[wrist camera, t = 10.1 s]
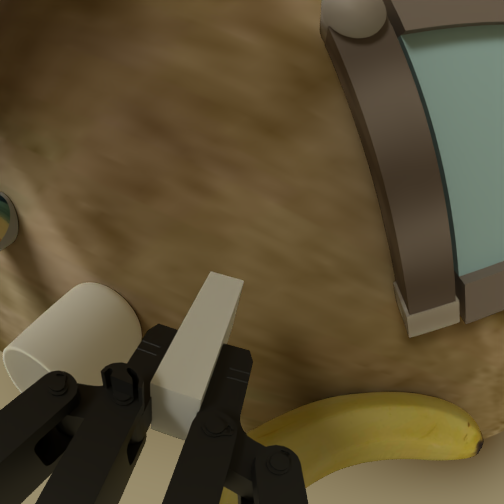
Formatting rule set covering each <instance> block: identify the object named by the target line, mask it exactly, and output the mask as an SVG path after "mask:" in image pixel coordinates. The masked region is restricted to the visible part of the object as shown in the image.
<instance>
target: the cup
mask: <svg viewBox="0 0 504 504" xmlns="http://www.w3.org/2000/svg"><path fill="white" fill-rule="evenodd" d="M141 339H142V332H141V326H140V323H139V320H138V318H137V316H136V314H135V312H134V310H133V309H132V307H131V306H130V305H129V304H128V302H127V301H126V300H125V299H124V298H123V297H122V296H121V295H119V294H118V293H117V292H116V291H114V290H113V289H111V288H109V287H107V286H105V285H102V284H99V283H93V282H87V283H82V284H79V285H77V286H75V287H74V288H72V289H71V290H70V291H68V292H67V293H66V294H65V295H64V296H62V297H61V298H60V299H59V300H58V301H57V302H55V303H54V304H53V305H52V306H51V307H50V308H49V309H47V310H46V311H45V312H44V313H43V314H42V315H41V316H40V317H38V318H37V319H36V320H35V321H34V322H33V323H32V324H31V325H30V326H29V327H27V328H26V329H25V330H24V331H23V332H22V333H21V334H20V335H19V336H18V337H17V338H16V339H15V340H14V341H12V342H11V343H10V344H9V345H8V346H7V347H6V348H5V349H4V352H3V361H4V365H5V368H6V370H7V372H8V374H9V376H10V378H11V379H12V381H13V383H14V384H15V386H16V387H17V388H18V390H19V391H20V392H21V393H22V392H24V391H25V390H26V389H27V388H29V387H30V386H31V385H33V384H34V383H35V382H36V381H38V380H39V379H40V378H41V377H43V376H44V375H45V374H47V373H49V372H51V371H58V370H59V371H65V372H67V373H69V374H71V375H72V376H73V377H74V378H75V380H76V382H77V383H79V384H85V385H92V386H103V382H102V377H101V370H102V369H103V368H104V367H105V366H107V365H109V364H112V363H119V362H123V363H128V361H129V359H130V358H131V356H132V355H133V353H134V352H135V350H136V349H137V347H138V345H139V344H140V342H141Z"/></svg>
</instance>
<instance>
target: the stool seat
mask: <svg viewBox="0 0 504 504" xmlns="http://www.w3.org/2000/svg"><path fill="white" fill-rule="evenodd" d="M382 1H383V2H384V5H385V7H386V14H387V16H388V19H389V21H390V23H391V25H392V27H393V29H394V32H395V34H396V36H397V39H398V41H399V43H400V46H401V48H402V50H403V53H404V55H405V58H406V61H407V63H408V66H409V68H410V71H411V74H412V77H413V79H414V82H415V85H416V88H417V91H418V94H419V97H420V100H421V103H422V106H423V110H424V113H425V116H426V120H427V123H428V127H429V130H430V134H431V138H432V142H433V146H434V150H435V154H436V158H437V162H438V167H439V171H440V176H441V181H442V186H443V191H444V197H445V202H446V208H447V215H448V222H449V229H450V236H451V245H452V254H453V265H454V278H455V295H456V297H457V298H458V300H459V312H460V315H461V317H462V319H463V321H464V322H465V324H468V323H471V322H473V321H476V320H479V319H482V318H484V317H487V316H489V315H492V314H495V313H497V312H500V311H502V310H504V0H382Z"/></svg>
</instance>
